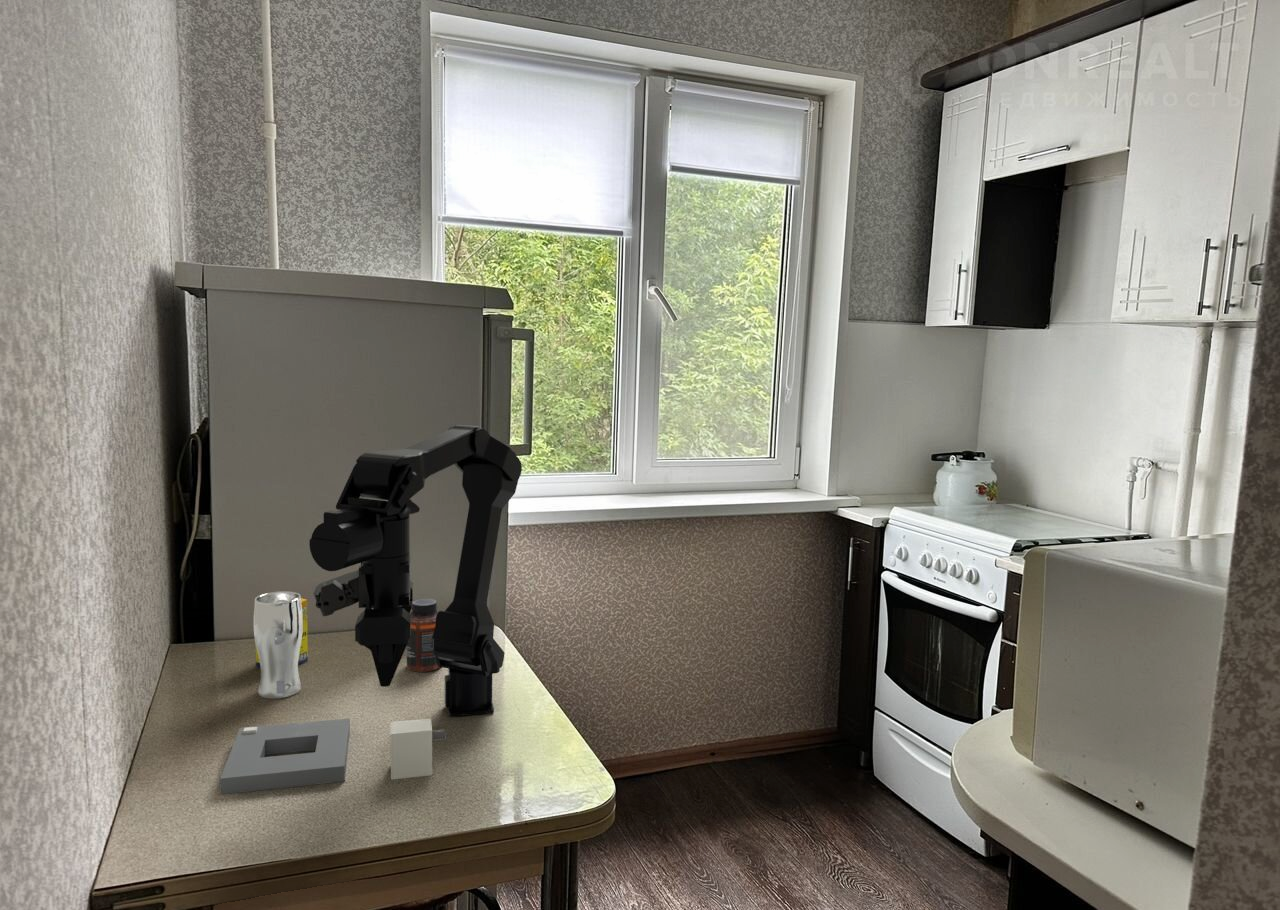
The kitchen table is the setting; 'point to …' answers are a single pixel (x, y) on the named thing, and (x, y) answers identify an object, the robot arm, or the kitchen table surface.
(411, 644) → the supplement bottle
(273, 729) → the socket plate
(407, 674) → the kitchen table surface
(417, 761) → the plug
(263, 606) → the beer glass
